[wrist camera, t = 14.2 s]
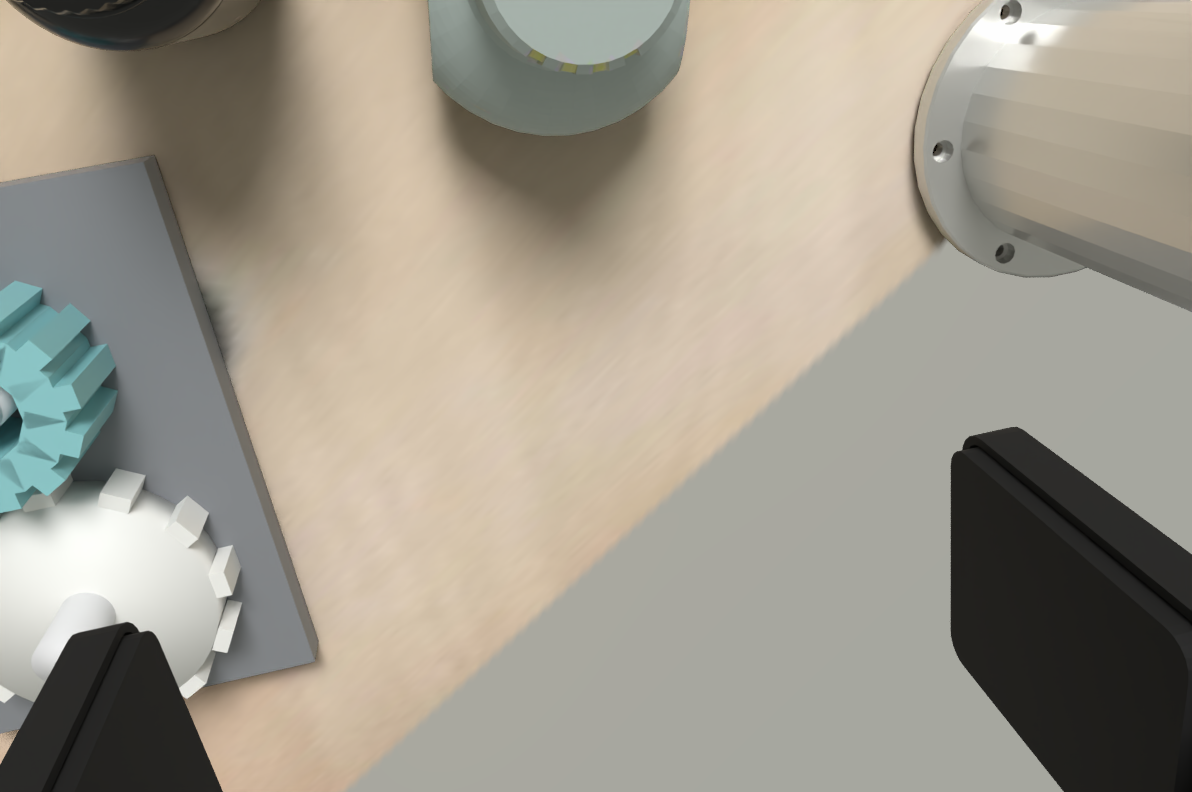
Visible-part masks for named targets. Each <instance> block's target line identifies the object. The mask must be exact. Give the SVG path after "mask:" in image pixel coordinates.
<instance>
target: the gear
mask: <svg viewBox="0 0 1192 792" xmlns="http://www.w3.org/2000/svg"><path fill="white" fill-rule="evenodd" d="M42 289H43V288H40V287H36V286H32V285H29V284H25V283H22V282H18V281H14V282H13V283H11V284H10V285H8V286H7V287H6V288H4V289H3V290H1V291H0V387H2V388H3V389H4V390H5V391H7V392H8V393H9V394H11V395H12V397H13V399H14V401H15V403H16V406H17V408H18V410H19V412H20V415H21V417H19V418H15V417H11V416H10V417H9V418H8V419H7V420H6V421H5V422H4V423H3V424H2V425H1V426H0V513H3V512H8V511H13V510H18V509H22V507H23V506H24V505H25V504H26V502H27V501H28V500H29V498H30V497H31V496H32V494H33V493H34V492H35V491H36V489H38V490H39V491H41V492H42V493H43V494H45V495H46V496H48V495H49V494H51V493H52V492H53V491H54V490H55V489H56V488H57V487H59V486H60V485H61V484H62V483H63V482H64V481H65V480H66V479H67V478H68V476H69V475H70V473H71V472H72V471H73V469H74V468H75V467H76V465H77V464H78V462H79V461H80V460H81V458H82V457H83V456H84V454H85V453H86V451H87V450H88V449H89V447H90V446H91V445H92V443H93V442H94V440H95V439H96V438H97V436H98V435H99V434H100V432H101V431H99V430H100V429H101V427H102V426H103V425H104V423H105V422H106V420H107V419H108V418H109V416H110V415H111V414H112V412H113V410H114V405H115V401H116V397H117V393H118V390H114V389H110V388H106V387H102V386H101V384H102V382H103V381H104V380H105V379H106V378H107V376H108V375H109V374H110V373H111V371H112V370H113V369H114V368H115V366H116V365H115V362H114V360H113V357H112V355H111V352H110V349H109V347H108V344H103V345H98V346H93V347H91V346H90V344H89V341H88V339H87V337H85V336H84V335H83V334H82V333H81V332H80V331H81V330H82V329H83V328H84V327H85V326H86V325H87V324H88V323H89V322H90V320H89V319H88V318H87V317H86V316H85V315H83V314H82V313H81V312H80V311H79V310H78V309H76V308H75V307H74V306H73V305H72V304H71V303H70V304H69V305H67V306H66V307H65V308H64V309H63V310H62V311H61V312H60V313H57V312H56V311H55V310H54V309H52V308H51V307H50V306H46V305H43V304H40V299H41V294H42Z"/></svg>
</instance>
